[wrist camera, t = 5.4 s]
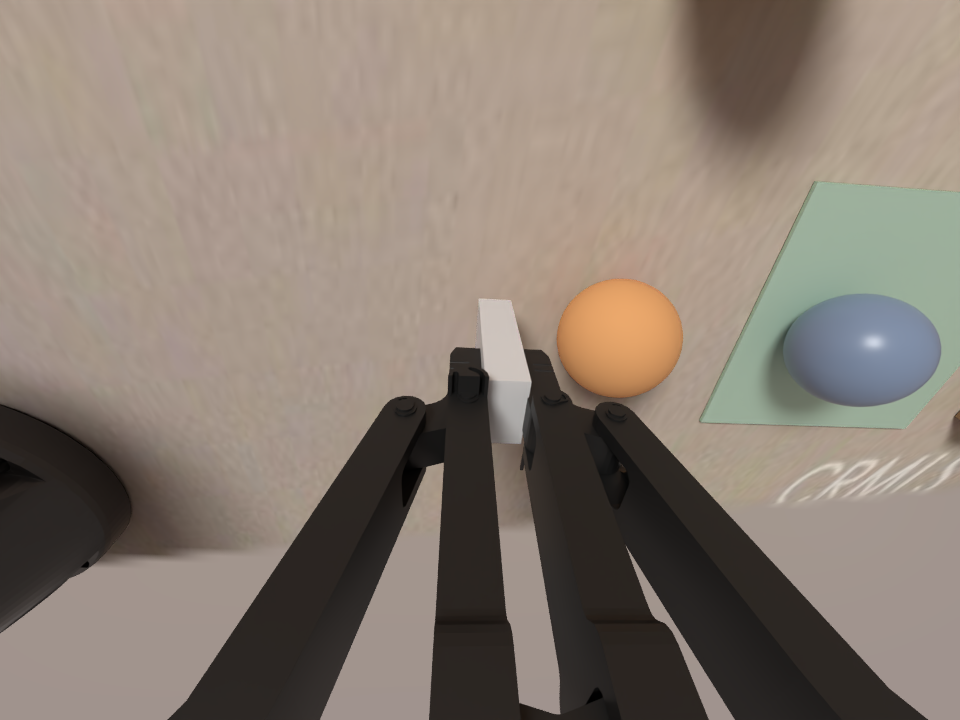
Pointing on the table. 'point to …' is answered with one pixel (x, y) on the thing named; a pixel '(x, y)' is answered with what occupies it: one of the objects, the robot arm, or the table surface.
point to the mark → (842, 271)
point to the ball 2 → (862, 350)
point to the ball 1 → (619, 338)
